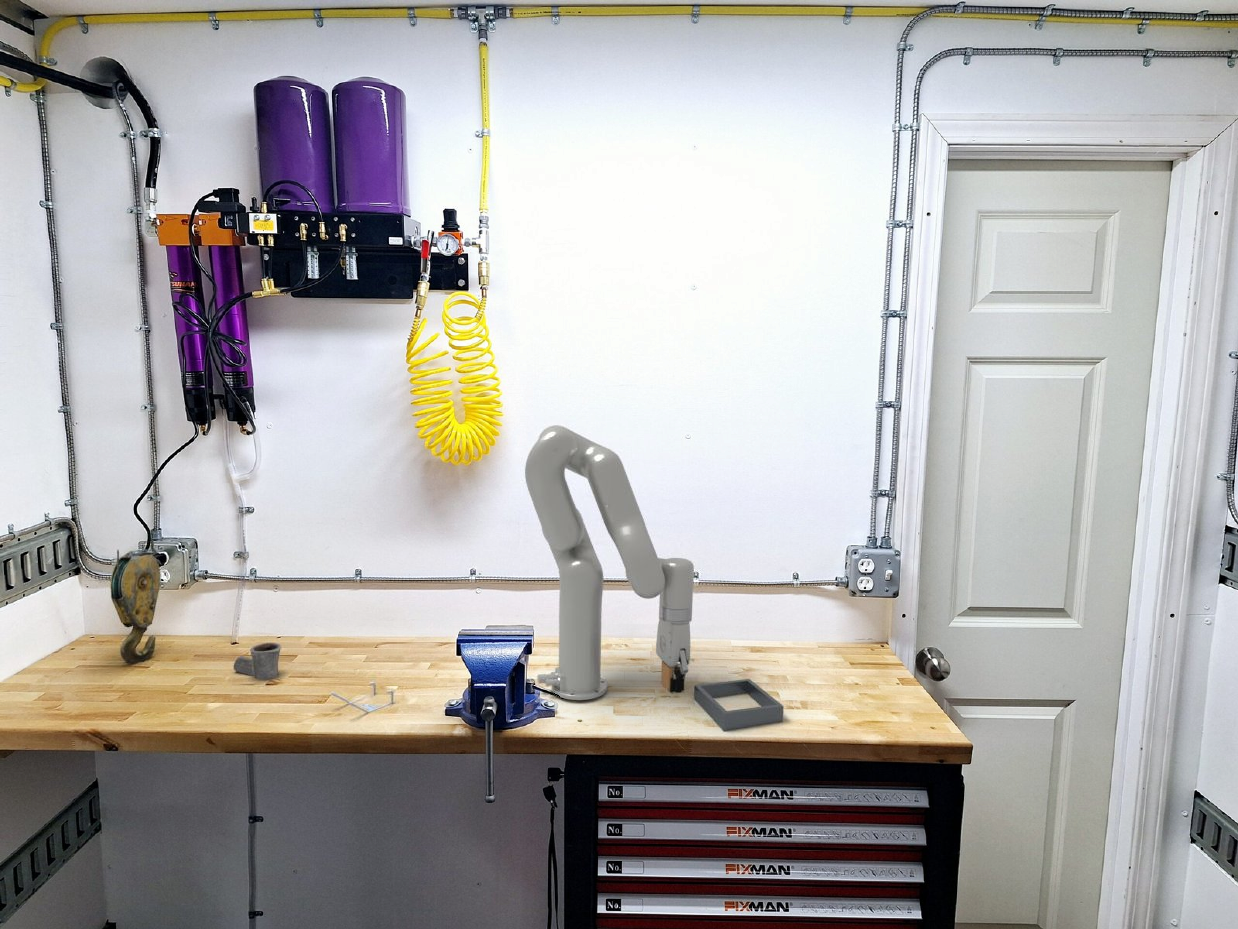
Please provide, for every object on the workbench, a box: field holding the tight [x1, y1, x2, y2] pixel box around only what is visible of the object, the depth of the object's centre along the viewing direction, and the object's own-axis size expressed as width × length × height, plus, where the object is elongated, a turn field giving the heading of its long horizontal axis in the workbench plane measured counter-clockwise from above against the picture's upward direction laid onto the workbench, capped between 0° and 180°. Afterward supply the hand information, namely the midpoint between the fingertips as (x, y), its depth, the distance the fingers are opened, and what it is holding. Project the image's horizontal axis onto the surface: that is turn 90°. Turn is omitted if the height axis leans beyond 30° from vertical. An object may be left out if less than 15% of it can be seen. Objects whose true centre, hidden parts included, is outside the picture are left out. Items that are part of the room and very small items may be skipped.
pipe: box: [233, 642, 282, 681], centre depth 172 cm, size 6×13×8 cm, turn 71°
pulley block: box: [110, 539, 162, 665], centre depth 179 cm, size 14×6×30 cm, turn 179°
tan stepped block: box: [660, 660, 680, 692], centre depth 168 cm, size 9×4×7 cm, turn 108°
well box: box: [693, 678, 785, 732], centre depth 156 cm, size 14×15×5 cm
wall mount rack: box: [330, 681, 394, 714], centre depth 157 cm, size 12×10×4 cm
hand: (672, 689), depth 167 cm, fingers closed on tan stepped block, 4 cm apart
